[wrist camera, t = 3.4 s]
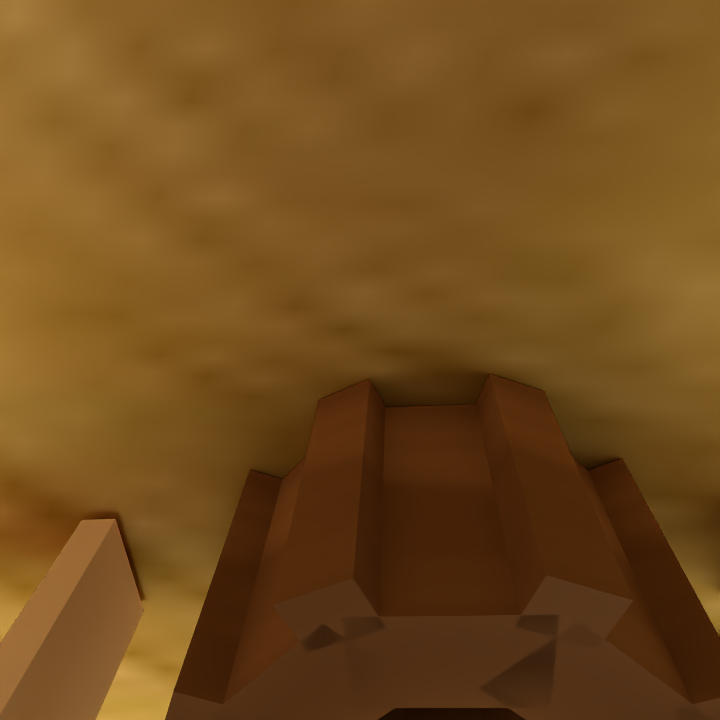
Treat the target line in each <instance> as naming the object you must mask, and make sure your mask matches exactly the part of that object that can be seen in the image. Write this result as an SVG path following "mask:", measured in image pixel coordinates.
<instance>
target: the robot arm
mask: <svg viewBox="0 0 720 720" xmlns="http://www.w3.org/2000/svg"><path fill="white" fill-rule="evenodd" d="M143 611H144V609H143V606H142V603H141V600H140V596H139V593H138V590H137V587H136V583H135V580H134V577H133V574H132V570H131V567H130V564H129V561H128V557H127V554H126V551H125V548H124V544H123V541H122V538H121V535H120V531H119V528H118V525H117V522H116V519H94V520H81V522H80V523H79V525H78V526H77V528H76V529H75V531H74V532H73V534H72V535H71V537H70V538H69V540H68V541H67V543H66V545H65V546H64V548H63V549H62V551H61V552H60V554H59V555H58V557H57V558H56V560H55V561H54V563H53V564H52V566H51V567H50V569H49V570H48V572H47V573H46V575H45V576H44V578H43V579H42V581H41V582H40V584H39V585H38V587H37V588H36V590H35V591H34V593H33V594H32V596H31V598H30V599H29V601H28V602H27V604H26V605H25V607H24V608H23V610H22V611H21V613H20V614H19V616H18V617H17V619H16V620H15V622H14V623H13V625H12V626H11V628H10V629H9V631H8V632H7V634H6V635H5V637H4V638H3V640H2V641H1V643H0V720H96V718H97V715H98V713H99V711H100V708H101V706H102V704H103V702H104V699H105V697H106V695H107V693H108V690H109V688H110V686H111V684H112V681H113V679H114V677H115V675H116V672H117V670H118V668H119V666H120V663H121V661H122V659H123V657H124V654H125V652H126V650H127V648H128V645H129V643H130V641H131V638H132V636H133V634H134V632H135V629H136V627H137V625H138V623H139V620H140V618H141V616H142V614H143Z"/></svg>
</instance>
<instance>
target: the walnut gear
mask: <svg viewBox="0 0 720 720" xmlns="http://www.w3.org/2000/svg"><path fill="white" fill-rule="evenodd" d="M165 720H720V637H719V635H718V634H717V632H716V630H715V628H714V626H713V624H712V623H711V621H710V619H709V617H708V615H707V613H706V612H705V610H704V608H703V606H702V604H701V602H700V601H699V599H698V597H697V595H696V593H695V591H694V590H693V588H692V586H691V584H690V582H689V580H688V579H687V577H686V575H685V573H684V571H683V569H682V568H681V566H680V564H679V562H678V560H677V558H676V557H675V555H674V553H673V551H672V549H671V547H670V546H669V544H668V542H667V540H666V538H665V536H664V535H663V533H662V531H661V529H660V527H659V525H658V524H657V522H656V520H655V518H654V516H653V514H652V513H651V511H650V509H649V507H648V505H647V503H646V502H645V500H644V498H643V496H642V494H641V492H640V491H639V489H638V487H637V485H636V483H635V481H634V480H633V478H632V476H631V474H630V472H629V470H628V469H627V467H626V465H625V463H624V461H623V459H620V460H617V461H614V462H611V463H608V464H605V465H602V466H600V467H597V468H594V469H591V470H586V469H585V468H584V467H583V466H582V465H580V464H579V463H578V462H577V461H576V460H574V459H573V458H572V455H571V453H570V451H569V448H568V446H567V444H566V441H565V439H564V437H563V434H562V432H561V430H560V427H559V425H558V423H557V420H556V418H555V416H554V413H553V411H552V408H551V406H550V404H549V401H548V399H547V397H546V394H545V392H544V391H541V390H538V389H535V388H532V387H529V386H526V385H523V384H520V383H517V382H513V381H510V380H507V379H504V378H501V377H498V376H495V375H492V374H489V376H488V378H487V380H486V382H485V385H484V387H483V389H482V391H481V393H480V395H479V397H478V399H477V401H476V403H475V404H463V405H437V406H411V407H385V406H384V404H383V402H382V400H381V398H380V397H379V395H378V393H377V391H376V389H375V388H374V386H373V384H372V382H371V381H370V379H368V380H366V381H363V382H361V383H358V384H356V385H354V386H351V387H349V388H347V389H344V390H342V391H339V392H337V393H335V394H332V395H330V396H327V397H325V398H323V399H320V400H318V405H317V409H316V414H315V418H314V423H313V427H312V432H311V436H310V441H309V445H308V450H307V454H306V457H305V458H304V459H303V460H302V461H301V462H300V463H299V464H298V465H297V466H296V467H295V468H294V469H293V470H292V471H291V472H290V473H289V474H287V475H286V476H285V477H284V478H283V479H279V478H276V477H272V476H269V475H265V474H262V473H259V472H255V471H252V470H250V472H249V475H248V478H247V481H246V484H245V486H244V489H243V492H242V495H241V498H240V501H239V504H238V507H237V510H236V512H235V515H234V518H233V521H232V524H231V527H230V530H229V533H228V536H227V538H226V541H225V544H224V547H223V550H222V553H221V556H220V559H219V562H218V565H217V567H216V570H215V573H214V576H213V579H212V582H211V585H210V588H209V591H208V593H207V596H206V599H205V602H204V605H203V608H202V611H201V614H200V617H199V619H198V622H197V625H196V628H195V631H194V634H193V637H192V640H191V643H190V645H189V648H188V651H187V654H186V657H185V660H184V663H183V666H182V669H181V671H180V674H179V677H178V680H177V683H176V686H175V689H174V692H173V695H172V698H171V702H170V705H169V708H168V712H167V715H166V718H165Z"/></svg>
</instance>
